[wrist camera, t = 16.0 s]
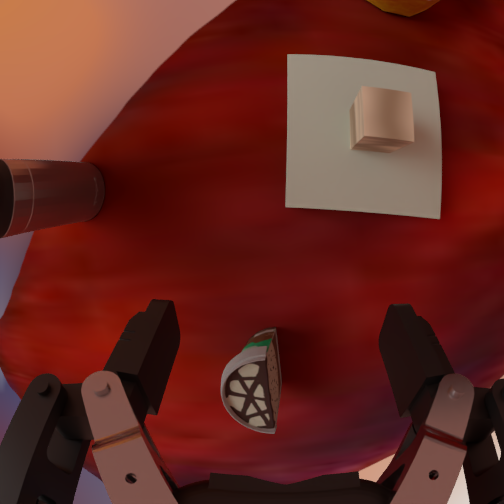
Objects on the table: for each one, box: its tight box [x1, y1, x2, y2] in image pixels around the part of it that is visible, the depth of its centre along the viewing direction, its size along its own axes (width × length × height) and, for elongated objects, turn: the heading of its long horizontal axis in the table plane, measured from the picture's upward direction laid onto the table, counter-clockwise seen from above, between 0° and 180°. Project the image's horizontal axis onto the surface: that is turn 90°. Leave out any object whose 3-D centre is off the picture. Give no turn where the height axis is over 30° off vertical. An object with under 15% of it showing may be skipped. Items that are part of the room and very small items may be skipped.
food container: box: [221, 327, 282, 434], centre depth 35 cm, size 12×6×10 cm, turn 7°
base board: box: [285, 54, 442, 219], centre depth 30 cm, size 18×18×4 cm
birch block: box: [349, 86, 414, 153], centre depth 24 cm, size 4×4×8 cm
